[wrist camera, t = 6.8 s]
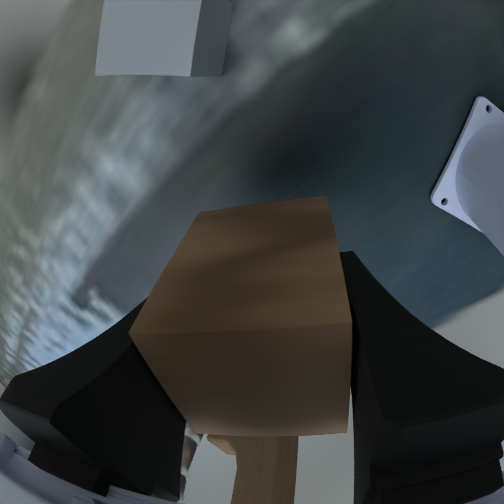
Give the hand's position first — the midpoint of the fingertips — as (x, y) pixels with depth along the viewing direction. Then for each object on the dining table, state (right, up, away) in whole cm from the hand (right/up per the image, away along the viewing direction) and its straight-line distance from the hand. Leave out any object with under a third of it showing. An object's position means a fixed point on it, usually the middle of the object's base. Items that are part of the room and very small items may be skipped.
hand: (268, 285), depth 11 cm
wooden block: (0, -17, +22) cm, 28 cm away
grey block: (-4, +13, +4) cm, 15 cm away
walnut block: (0, +1, +1) cm, 2 cm away
